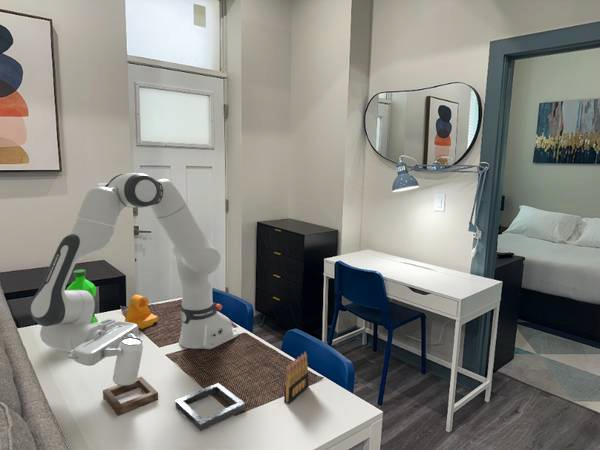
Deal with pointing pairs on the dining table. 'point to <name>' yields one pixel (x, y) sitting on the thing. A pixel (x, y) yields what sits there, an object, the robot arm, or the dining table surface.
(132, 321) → the orange figurine
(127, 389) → the wooden square frame
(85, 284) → the plastic bottle
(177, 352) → the dining table surface
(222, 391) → the dark grey square frame
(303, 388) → the ammunition clip
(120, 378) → the can
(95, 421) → the dining table surface
